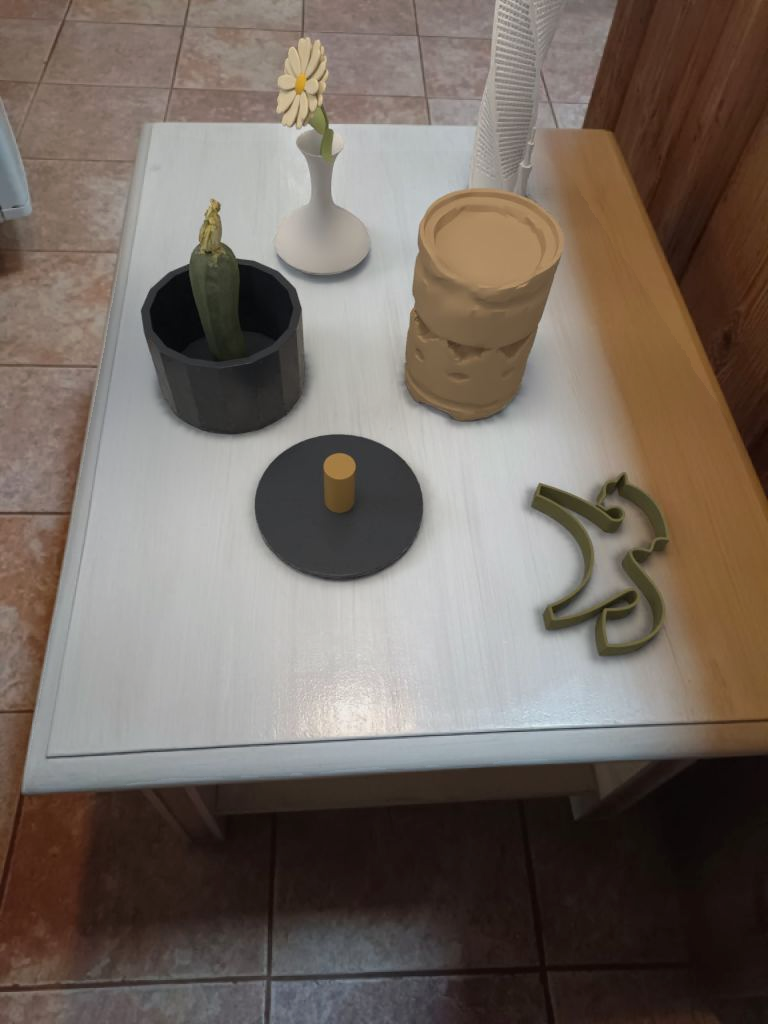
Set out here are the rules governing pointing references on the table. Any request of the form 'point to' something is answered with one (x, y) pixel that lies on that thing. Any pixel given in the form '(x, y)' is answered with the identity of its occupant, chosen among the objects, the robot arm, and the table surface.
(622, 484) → the cookie cutter
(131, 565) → the table surface
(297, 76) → the flower in vase
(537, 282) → the container
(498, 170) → the skyscraper
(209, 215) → the vegetable
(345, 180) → the table surface
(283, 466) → the lid
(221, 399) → the pot
